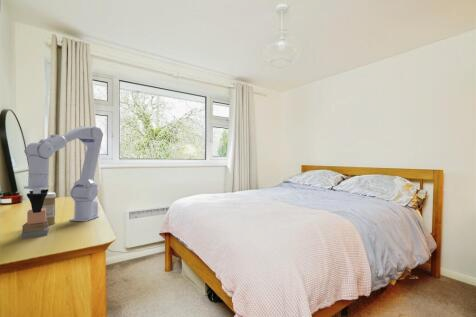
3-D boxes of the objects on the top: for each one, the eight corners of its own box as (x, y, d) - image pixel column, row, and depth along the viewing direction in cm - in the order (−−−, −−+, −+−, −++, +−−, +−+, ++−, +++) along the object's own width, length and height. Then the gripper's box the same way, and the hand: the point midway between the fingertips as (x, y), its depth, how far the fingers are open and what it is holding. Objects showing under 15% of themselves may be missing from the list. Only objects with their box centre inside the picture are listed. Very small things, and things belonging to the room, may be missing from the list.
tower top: (27, 228, 86) (28, 221, 86) (47, 226, 89) (48, 219, 89) (22, 232, 81) (22, 225, 81) (43, 230, 84) (44, 223, 84)
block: (29, 221, 86) (29, 209, 86) (46, 219, 89) (46, 208, 89) (27, 224, 82) (27, 212, 82) (45, 222, 85) (45, 210, 85)
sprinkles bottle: (55, 222, 101) (56, 192, 101) (53, 224, 97) (54, 193, 97) (42, 223, 99) (43, 192, 99) (39, 226, 95) (40, 194, 95)
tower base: (24, 234, 86) (24, 228, 86) (48, 231, 90) (48, 225, 90) (21, 240, 80) (21, 233, 80) (47, 236, 85) (47, 229, 85)
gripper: (26, 173, 89) (25, 208, 89) (21, 176, 77) (20, 215, 77) (49, 173, 93) (49, 206, 93) (48, 175, 82) (47, 213, 82)
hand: (37, 210), depth 86 cm, fingers open, 7 cm apart
